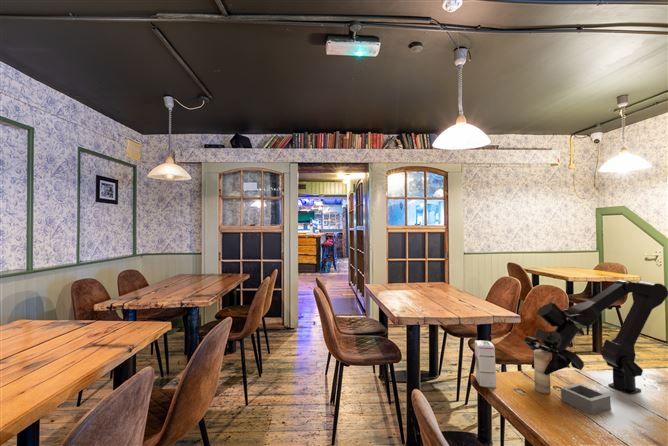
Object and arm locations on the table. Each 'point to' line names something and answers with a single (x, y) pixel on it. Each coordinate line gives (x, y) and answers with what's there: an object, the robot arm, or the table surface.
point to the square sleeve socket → (586, 398)
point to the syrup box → (485, 363)
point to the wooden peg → (541, 371)
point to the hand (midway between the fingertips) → (538, 371)
